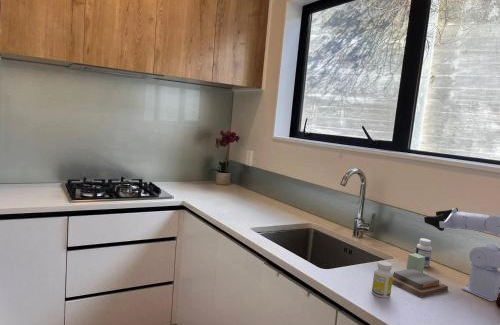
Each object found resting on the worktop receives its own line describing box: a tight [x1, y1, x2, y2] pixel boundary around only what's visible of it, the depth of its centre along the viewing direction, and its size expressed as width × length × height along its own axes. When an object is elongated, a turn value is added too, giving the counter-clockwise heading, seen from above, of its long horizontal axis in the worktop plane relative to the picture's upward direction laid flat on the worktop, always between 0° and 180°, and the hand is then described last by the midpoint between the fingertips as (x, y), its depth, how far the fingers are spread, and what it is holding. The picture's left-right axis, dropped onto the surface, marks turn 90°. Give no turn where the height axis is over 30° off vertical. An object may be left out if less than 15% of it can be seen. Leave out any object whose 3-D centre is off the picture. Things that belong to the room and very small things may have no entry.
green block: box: [405, 252, 425, 273], centre depth 138 cm, size 4×4×6 cm
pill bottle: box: [415, 237, 433, 268], centre depth 147 cm, size 5×5×10 cm
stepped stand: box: [392, 268, 449, 298], centre depth 126 cm, size 14×14×3 cm
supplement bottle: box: [371, 260, 394, 299], centre depth 115 cm, size 5×5×10 cm
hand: (430, 217), depth 139 cm, fingers open, 7 cm apart
